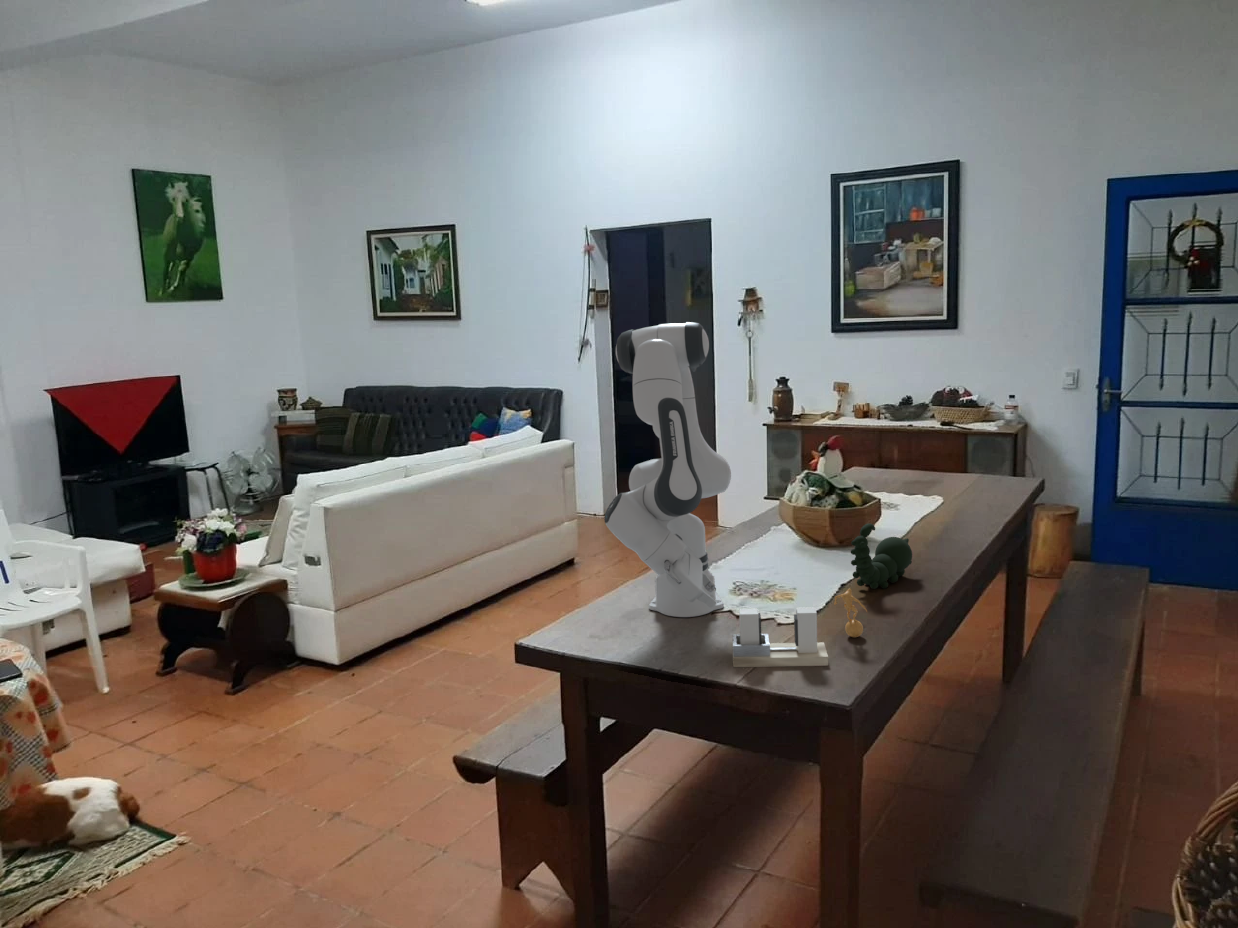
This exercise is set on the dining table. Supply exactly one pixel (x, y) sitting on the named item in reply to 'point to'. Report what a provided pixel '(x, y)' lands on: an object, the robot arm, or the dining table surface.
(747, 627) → the block
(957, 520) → the dining table surface
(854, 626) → the figurine
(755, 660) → the rail
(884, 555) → the toy figurine
